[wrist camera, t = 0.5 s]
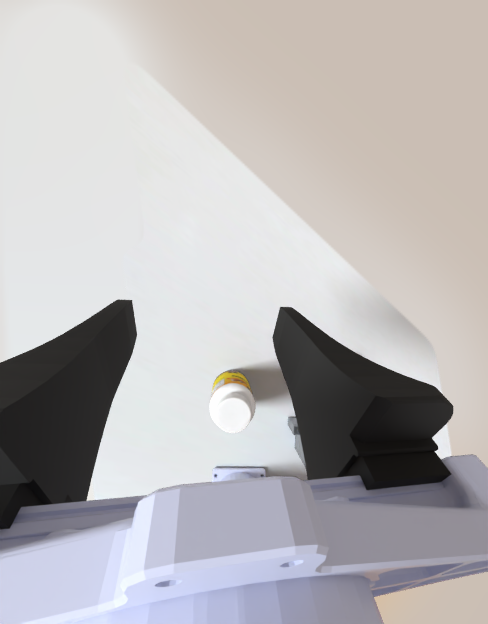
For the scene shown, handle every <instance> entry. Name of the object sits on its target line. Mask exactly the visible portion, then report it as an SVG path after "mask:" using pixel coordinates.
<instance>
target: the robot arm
mask: <svg viewBox="0 0 488 624" xmlns="http://www.w3.org/2000/svg"><path fill="white" fill-rule="evenodd" d="M136 337H137V332H136V325H135V318H134V311H133V304H132V300H116V301H115V302H113V303H111V304H110V305H108V306H107V307H106V308H104V309H102V310H101V311H100V312H98V313H97V314H95V315H93V316H92V317H91V318H89V319H87V320H86V321H84V322H83V323H81V324H79V325H77V326H76V327H74V328H72V329H71V330H69V331H67V332H66V333H64V334H62V335H60V336H58V337H57V338H55V339H53V340H51V341H49V342H47V343H45V344H43V345H41V346H39V347H36V348H34V349H32V350H30V351H27V352H25V353H23V354H20V355H18V356H16V357H13V358H11V359H8V360H6V361H4V362H1V363H0V624H384V623H383V620H382V618H381V615H380V612H379V610H378V607H377V604H376V602H375V599H374V597H376V596H380V595H385V594H389V593H393V592H398V591H402V590H406V589H411V588H415V587H419V586H423V585H428V584H432V583H436V582H441V581H445V580H450V579H455V578H459V577H463V576H468V575H473V574H478V573H483V572H488V468H487V467H486V466H485V465H484V464H483V463H482V462H481V460H480V459H479V458H478V457H477V456H476V455H461V456H450V457H446V458H444V459H440V458H439V457H438V456H437V454H436V453H435V452H434V451H436V450H438V446H437V444H436V443H435V442H434V441H433V439H432V437H433V436H434V435H435V434H436V433H437V432H438V431H439V430H440V429H441V428H442V427H443V426H444V425H446V423H447V422H448V421H449V420H450V419H451V416H452V414H453V405H452V404H451V403H450V402H449V401H448V400H447V399H446V398H445V397H444V396H443V395H442V393H441V392H440V391H439V390H438V389H437V388H436V387H434V386H432V385H429V384H427V383H424V382H421V381H418V380H415V379H412V378H410V377H407V376H404V375H402V374H399V373H397V372H394V371H392V370H390V369H387V368H385V367H383V366H381V365H378V364H376V363H374V362H372V361H370V360H368V359H366V358H364V357H362V356H360V355H359V354H357V353H355V352H353V351H352V350H350V349H348V348H347V347H345V346H343V345H342V344H340V343H339V342H337V341H336V340H334V339H333V338H331V337H330V336H328V335H327V334H326V333H324V332H323V331H322V330H320V329H319V328H318V327H316V326H315V325H314V324H312V323H311V322H310V321H309V320H307V319H306V318H305V317H304V316H302V315H301V314H300V313H299V312H297V311H296V310H295V309H293V308H292V307H280V310H279V314H278V318H277V322H276V326H275V330H274V334H273V342H274V348H275V352H276V356H277V359H278V361H279V364H280V367H281V370H282V373H283V375H284V378H285V381H286V384H287V386H288V389H289V392H290V395H291V398H292V402H293V407H294V411H295V415H296V419H297V424H298V428H299V433H300V438H301V443H302V448H303V453H304V458H305V464H306V471H307V477H308V480H305V481H302V480H301V479H299V478H297V477H289V476H273V477H265V475H266V471H265V469H264V468H214V469H213V474H212V482H206V483H194V484H183V485H177V486H172V487H167V488H162V489H158V490H156V491H154V492H153V493H151V494H149V495H145V496H135V497H124V498H113V499H103V500H92V501H86V500H87V496H88V491H89V486H90V482H91V478H92V474H93V470H94V466H95V462H96V458H97V454H98V450H99V446H100V442H101V439H102V435H103V431H104V428H105V424H106V421H107V417H108V414H109V411H110V407H111V404H112V401H113V398H114V396H115V393H116V391H117V388H118V386H119V384H120V381H121V379H122V377H123V374H124V372H125V370H126V367H127V365H128V362H129V360H130V358H131V355H132V352H133V349H134V345H135V341H136ZM215 474H217V476H215ZM262 474H263V476H261V475H262Z"/></svg>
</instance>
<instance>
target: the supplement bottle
mask: <svg viewBox="0 0 488 624" xmlns="http://www.w3.org/2000/svg"><path fill="white" fill-rule="evenodd" d="M254 413H255V399H254V397H253V394H252V391H251V388H250V385H249V382H248V380H247V379H246V377H245V376H244V375H243V374H241V373H240V372H237V371H232V370H230V371H225V372H223V373H221V374H220V375H219V376H218V377H217V378H216V380H215V381H214V384H213V389H212V394H211V399H210V414H211V417H212V419H213V421H214V422H215V423H216V424H217V425H218V426H219V427H220V428H221V429H222V430H223V431H225V432H228V433H238V432H240V431H242V430H244V429H245V428H246V427H247V426H248V424H249V422H250V421H251V420H252V418H253V416H254Z"/></svg>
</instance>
